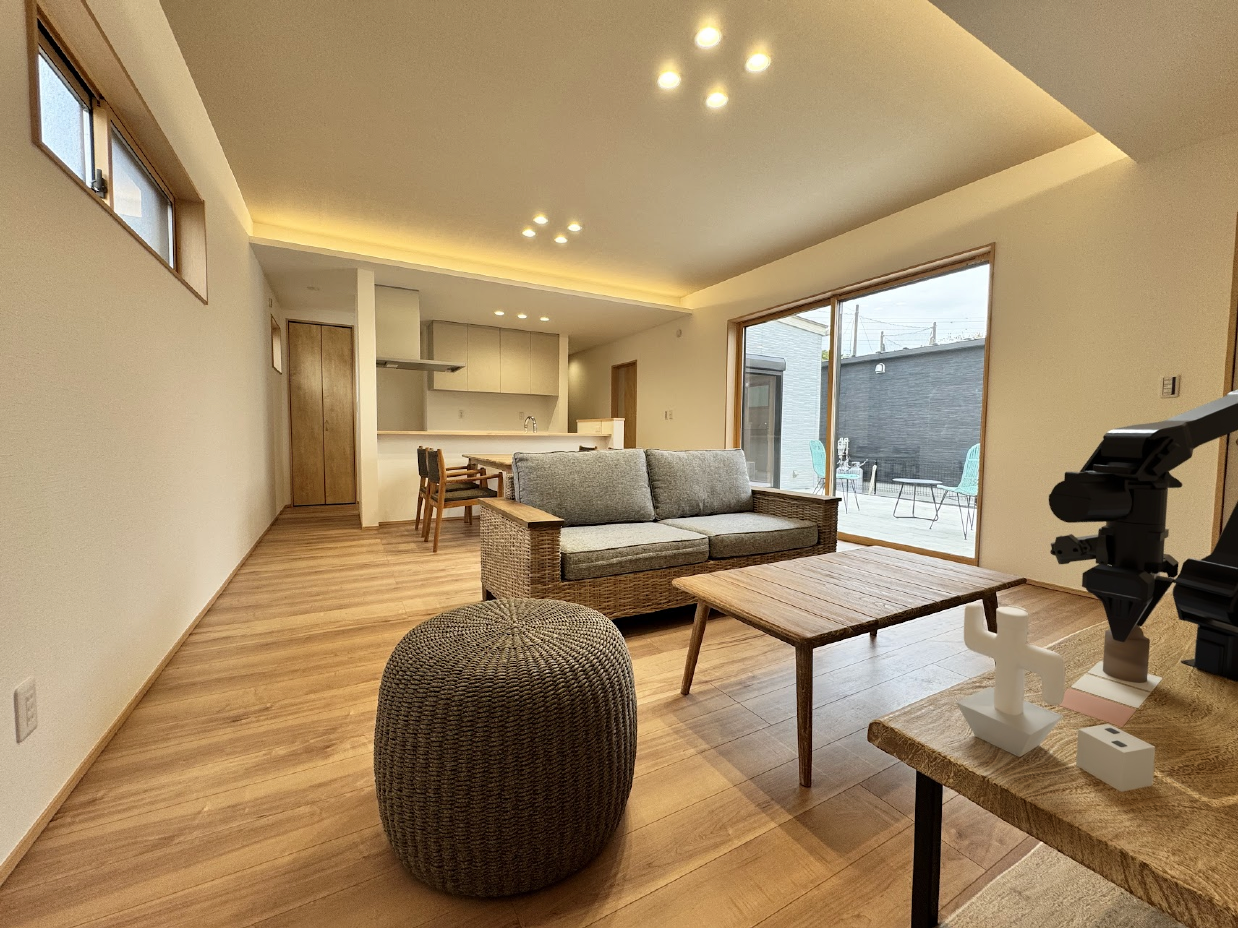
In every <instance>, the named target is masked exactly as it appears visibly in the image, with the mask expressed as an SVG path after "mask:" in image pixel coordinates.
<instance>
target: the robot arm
mask: <svg viewBox="0 0 1238 928" xmlns="http://www.w3.org/2000/svg"><path fill="white" fill-rule="evenodd" d="M1236 431H1238V389H1235V390H1234V391H1230V392H1228V393H1226V395H1224V396H1223V397H1220V398H1218V399H1215V400H1213V401H1210V402H1207V403H1205V404H1202V405H1200V406H1198V407H1194V408H1193V409H1189V410H1187V411H1184V412H1183V413H1180V414H1178V415H1177V414H1176V415H1175V416H1172V417H1170V418H1167V419H1165V420H1161V421H1157V422H1149V423H1141V424H1132V425H1127V426H1122V427H1117V428H1114V429H1111V430H1108V431H1107V432H1106V433H1105V434H1104V435H1103V436H1102V440H1101V442H1100V443H1099V445H1097V447H1096V448H1095V450H1094V451H1093V453H1092V454H1091V455H1090V456H1089V458H1088V460H1086V462H1085V463H1084V465H1082V466H1083V467H1082V468H1081V469H1080V470H1079V471H1065V472H1064V479H1063V480H1062V481H1060V482H1058V483H1057V484H1055V486H1054V487H1053V488H1052V490H1051V492H1050V494H1048V504H1049V509H1050V511H1051V512H1052V514H1053V516H1055V517H1056V518H1057V519H1058V520H1059V521H1062V522H1064V523H1069V524H1071V523H1072V524H1073V523H1075V524H1076V523H1077V524H1078V523H1105V525H1103V526H1101V527H1100V528H1098V532H1097V533H1098V534H1091V535H1084V536H1077V537H1076V536H1075V535H1074V534H1072V533H1071V534H1066V535H1058V536H1055V540H1054V541H1053V542H1051V543H1050V547H1051V549H1050V554H1051V555H1052V556H1055V558H1056V561H1057V563H1058V565H1067V564H1070V563H1071V562H1073V563H1074V562H1081V561H1082V562H1083V561H1089V560H1095V564H1096V565H1095V566H1092V567H1091V568H1089V569H1088V570H1087V569H1086V570H1085V571H1084V572H1082V579H1081V587H1082V588H1084V589H1085V590H1086V592H1088V594H1093V595H1094V596H1095V597H1096V598H1097V599H1098V600H1099V601H1100V602H1101V603H1102V606H1103V608H1104V611H1105V612H1104V613H1105V615H1106V619H1107V623H1108V626H1109V630H1111V633H1112V637H1113V639H1114V640H1116V641H1120V642H1125V641H1126V639H1127V638H1128V636H1129V635H1130V633H1131V632H1132V630H1133V628H1134V627H1135V625H1138V626H1139V627H1143V626H1144V624H1145V623H1146V621H1147V620H1148V618H1149V617H1150V616H1151V614H1152V612H1153V611H1155V608H1156V607H1157V606H1158V604H1159V603H1160V601H1161V600H1162V599H1163V597H1164V596H1165V594H1166V593H1167V592H1168V590H1169V589H1170V587H1171V585H1173V583H1174V586H1173V588H1172V597H1173V601H1174V605H1175V608H1176V612H1177V616H1178V619H1179V620H1180V621H1183V622H1188V623H1192V624H1194V625H1196V626H1197V629H1196V639H1195V646H1194V647H1195V648H1194V658H1189V659H1183V660H1180V663H1181V664H1184V665H1187V666H1190V667H1192V668H1196V669H1198V670H1201V671H1203V672H1205V673H1206V672H1207V673H1210V674H1213V675H1215V676H1218V677H1221V678H1224V679H1227V680H1230V681H1233V682H1235V683H1238V500H1237V501H1236V503H1235V505H1234V507H1233V509H1232V511H1231V513H1230V515H1229V517H1228V520H1227V521H1226V523H1225V525H1224V528H1223V529H1222V531H1221V534H1220V536H1219V537H1218V540H1217V543H1216V544H1215V546H1214V548H1213V550H1212V552H1211V553H1210V554H1209V555H1207V556H1205V557H1203V558H1201V559H1195V558H1190V557H1188V558H1187V559H1186V560H1185V561H1183V563H1182V567H1181V568H1180V572H1179V564H1180V563H1179V561H1178V560H1176V558H1174V556H1172V555H1171V554H1167V553H1165V551H1164V550H1165V540H1166V539H1167V538H1169V533H1170V532H1169V530H1170V529H1168V528H1166V526H1167V525H1166V522H1167V507H1168V492H1169V489H1179V488H1182V487H1183V483H1182V481H1180V480H1179V479H1178V478H1176V477H1175V476H1173V475H1172V474H1171V473H1170V471H1172V470H1175V469H1176V468H1177V467H1178V466H1180V465H1182V464H1183V463H1185V462H1187V461H1189V460H1190V459H1191V458H1192V457H1193V453H1194V450H1195V449H1196V448H1198V447H1200V446H1202V445H1204V444H1207V443H1209V442H1212V441H1214V440H1217V439H1219V438H1222V437H1224V436H1226V435H1227V436H1228V435H1229V434H1231V433H1234V432H1236ZM1161 573H1163V574H1167V575H1166V576H1164V575H1163V576H1162V575H1161Z"/></svg>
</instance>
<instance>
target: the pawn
mask: <svg viewBox="0 0 1238 928" xmlns="http://www.w3.org/2000/svg"><path fill="white" fill-rule="evenodd" d="M1150 643H1151V640H1150V638H1148V637H1147V636H1145V635H1144V631H1143V629H1142V628H1141V626H1138V625H1135V627H1134V628H1133V630H1132V632H1131V633H1130V635H1129V636H1128V638H1127V639H1126V641H1125V642H1120V641H1116V640H1114V639H1113V637H1112V633H1111V630H1110V629H1105V631H1104V643H1103V644H1104V645H1103V646H1104V647H1103V657H1102V658H1103V660H1102V661H1103V672H1104V673H1106V674H1107V675H1109V676H1111V677H1114V678H1117V679H1120V680H1124V681H1128V682H1134V683H1145V682H1147V675H1148V674H1149V671H1148V670H1149V659H1150V645H1151V644H1150Z"/></svg>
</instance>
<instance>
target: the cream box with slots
mask: <svg viewBox="0 0 1238 928" xmlns="http://www.w3.org/2000/svg"><path fill="white" fill-rule="evenodd" d="M1076 742H1077V743H1076V744H1077V745H1076V761H1075V762H1076V763H1075V766H1077V767H1078V768H1080V769H1081V770H1084V771H1085V772H1087V773H1088V774H1090V775H1091V776H1094V777H1095V778H1097V779H1099V780H1100V781H1102V782H1103V783H1105V784H1107V785H1109V786H1111V787H1112V788H1114V789H1115V790H1117V791H1119V792H1126V791H1132V790H1136V789H1137V790H1138V789H1141V788H1142V789H1143V788H1147V787H1151V786H1153V783H1154V771H1155V770H1154V769H1155V757H1156V756H1155V755H1156V754H1155V753H1156V746H1154V745H1153V744H1150V743H1148V742H1147V741H1144V740H1142V739H1140V738H1139V737H1136V736H1134V735H1132V734H1131V733H1128V732H1126V731H1124V730H1122V729H1120V728H1117V726H1116V727H1115V725H1113V724H1111V723H1106V724H1099V725H1093V726H1087V727H1081V728H1078V730H1077V741H1076Z"/></svg>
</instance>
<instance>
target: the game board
mask: <svg viewBox="0 0 1238 928" xmlns="http://www.w3.org/2000/svg"><path fill="white" fill-rule="evenodd" d="M1163 679H1164V678H1163V677H1161V676H1157V675H1155V674H1154V675H1153V674H1150V673H1148V675H1147V682H1145V683H1134V682H1128V681H1124V680H1120V679H1117V678H1114V677H1111V676H1109V675H1107V674H1106V673H1104V672H1103V660H1099V661H1098V662H1097V663H1096V664H1095V665H1094V666H1092V668H1090V669H1089V670H1088V671H1087V672H1086V673H1085V674H1083V675H1082V676H1081V677H1080V678H1079V679H1078V680H1076V681H1075V682H1074V683H1073V684H1072V685H1071V686H1070V687H1069V688H1068V689H1066V690H1064V699H1063V702H1062V703H1061V704H1060V705H1058V706H1060V707H1062V708H1065V709H1068V710H1070V711H1073V712H1077V713H1079V714H1082V715H1085V716H1088V717H1091V718H1094V719H1097V720H1099V721H1102V722H1106V723H1107V724H1110V725H1113V726H1116V727H1120V728H1124V726H1125V725H1126V724H1127V723H1128V721H1129V720H1130V719H1131V717H1132V716H1133V715H1134V714H1135V712H1136V711H1137V709H1139V708H1140V707H1141V705H1142V704H1143V703H1144V702H1145V701H1146V699H1147V698H1148V697H1149V696H1150V694H1151V693H1152V692H1153V691H1154V690H1155V689H1156V687H1157V686H1158V684H1160V683H1161V681H1162V680H1163ZM1085 692H1086V693H1085ZM1122 704H1123V705H1122Z"/></svg>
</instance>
